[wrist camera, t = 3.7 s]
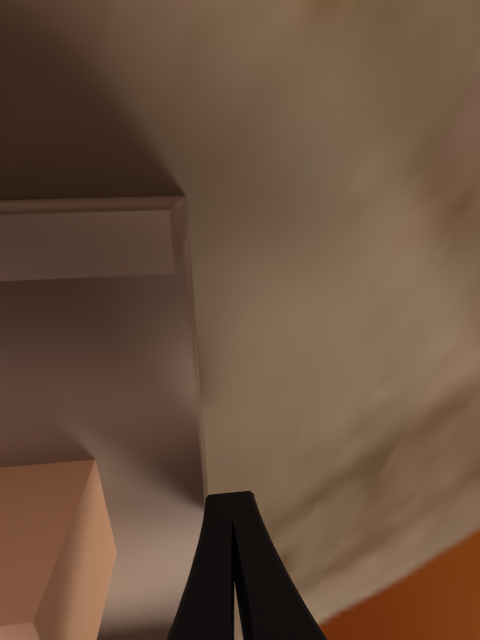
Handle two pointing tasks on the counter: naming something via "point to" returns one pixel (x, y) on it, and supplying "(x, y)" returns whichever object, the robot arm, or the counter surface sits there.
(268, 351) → the counter surface
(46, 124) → the counter surface
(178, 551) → the open tray box
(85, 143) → the counter surface
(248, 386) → the counter surface
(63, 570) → the terracotta block
